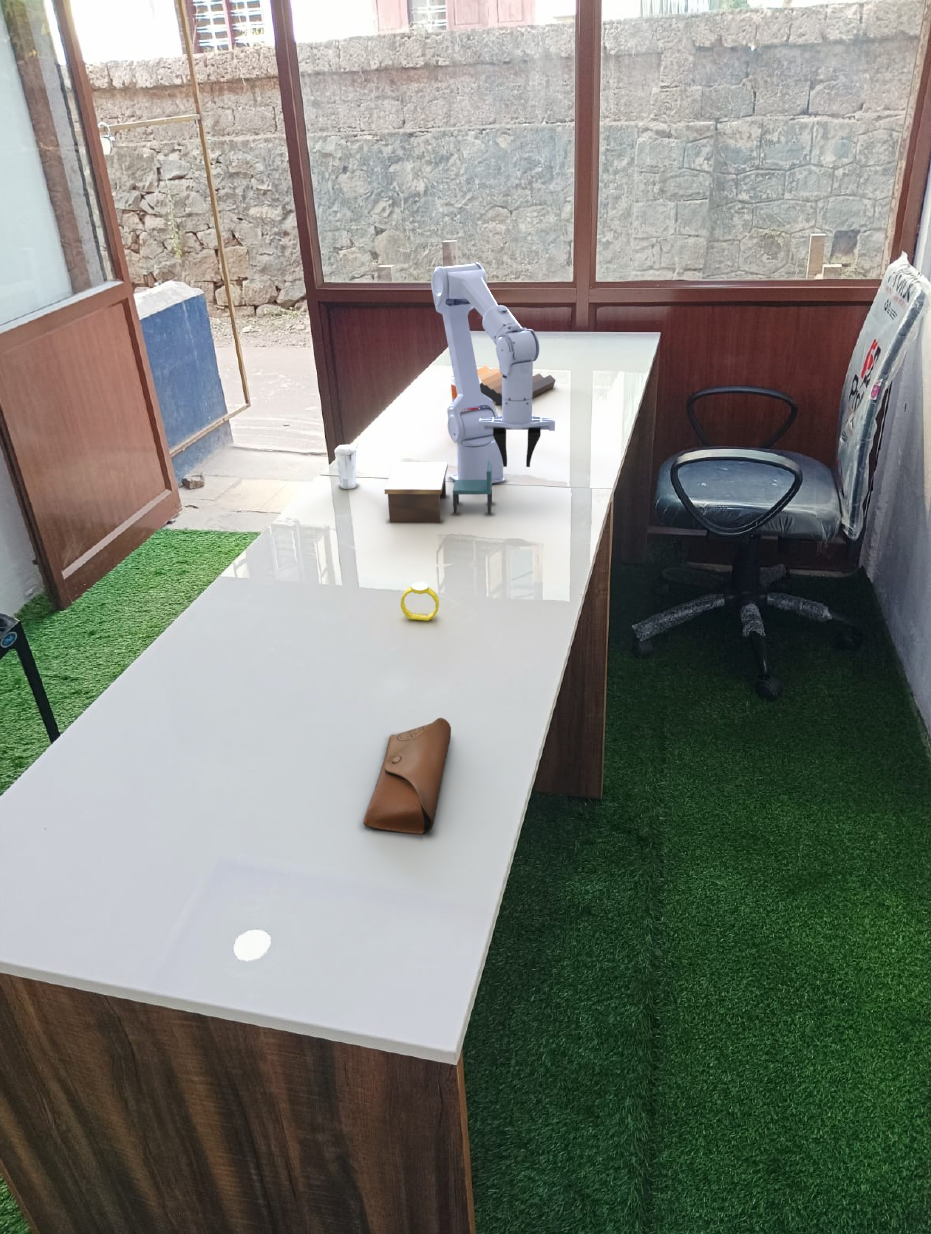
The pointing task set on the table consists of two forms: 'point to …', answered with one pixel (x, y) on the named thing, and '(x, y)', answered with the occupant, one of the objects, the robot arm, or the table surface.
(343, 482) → the milkshake
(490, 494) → the chair
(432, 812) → the sunglasses case
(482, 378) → the pan flute
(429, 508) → the desk
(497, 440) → the robot arm
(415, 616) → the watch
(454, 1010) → the table surface
